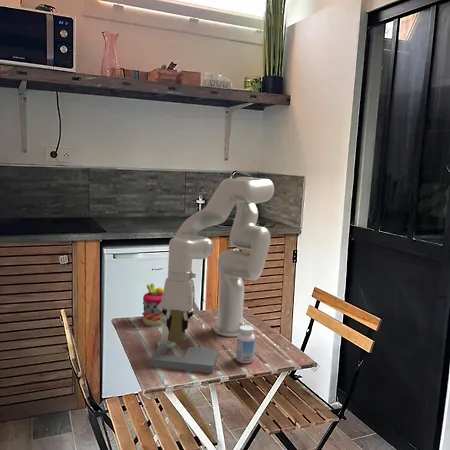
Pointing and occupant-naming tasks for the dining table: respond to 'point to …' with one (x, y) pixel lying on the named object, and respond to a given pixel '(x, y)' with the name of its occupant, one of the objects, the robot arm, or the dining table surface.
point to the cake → (152, 306)
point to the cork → (176, 327)
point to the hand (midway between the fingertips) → (177, 329)
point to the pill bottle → (245, 344)
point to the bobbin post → (165, 334)
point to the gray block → (186, 359)
